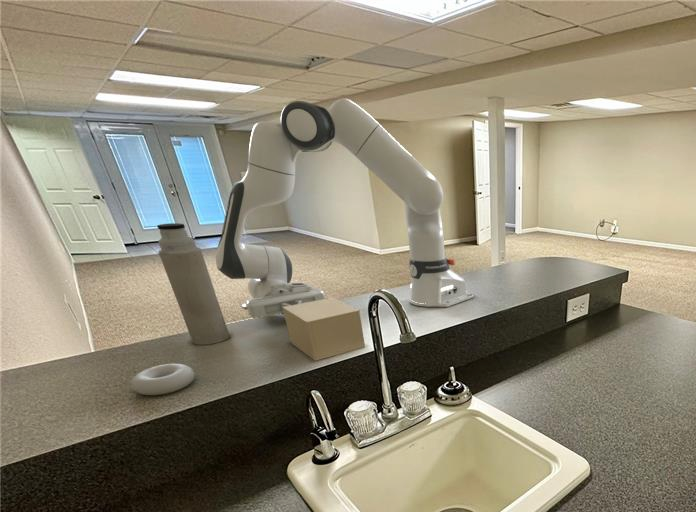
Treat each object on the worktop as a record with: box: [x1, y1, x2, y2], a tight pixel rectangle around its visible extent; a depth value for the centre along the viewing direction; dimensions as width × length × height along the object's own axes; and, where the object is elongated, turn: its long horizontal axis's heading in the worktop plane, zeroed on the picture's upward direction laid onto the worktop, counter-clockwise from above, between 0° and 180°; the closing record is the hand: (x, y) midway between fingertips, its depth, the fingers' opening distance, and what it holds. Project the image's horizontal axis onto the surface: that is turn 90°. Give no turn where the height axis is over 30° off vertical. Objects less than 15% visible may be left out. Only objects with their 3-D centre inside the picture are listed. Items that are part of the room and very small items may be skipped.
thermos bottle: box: [156, 222, 230, 346], centre depth 98 cm, size 8×8×28 cm
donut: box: [130, 363, 195, 396], centre depth 82 cm, size 10×4×10 cm
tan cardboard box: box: [282, 297, 366, 362], centre depth 101 cm, size 15×13×10 cm
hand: (297, 309), depth 110 cm, fingers closed
